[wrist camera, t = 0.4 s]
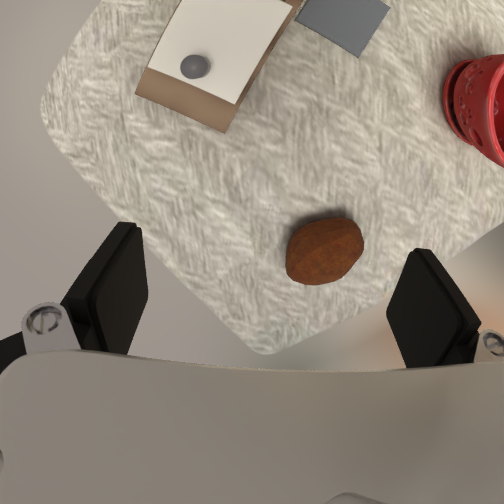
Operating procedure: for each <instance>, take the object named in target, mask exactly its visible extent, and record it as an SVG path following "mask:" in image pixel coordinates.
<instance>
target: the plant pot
mask: <svg viewBox="0 0 504 504" xmlns="http://www.w3.org/2000/svg"><path fill="white" fill-rule="evenodd" d="M443 105H444V110H445V114H446V117H447V120H448V122H449V124H450V126H451V128H452V129H453V131H454V132H455V133H456V134H457V135H458V137H460V138H461V139H462V140H463V141H465V142H466V143H468V144H470V145H473V146H475V147H476V148H477V149H478V150H479V151H480V152H481V153H482V154H483V155H485V156H486V157H487V158H489V159H490V160H491V161H493V162H495V163H496V164H498V165H500V166H501V167H503V168H504V54H499V55H490V56H486V57H482V58H480V59H477V60H476V59H469V60H465V61H462V62H460V63H458V64H457V65H456V66H455V67H454V68H453V69H452V70H451V71H450V73H449V75H448V77H447V79H446V81H445V85H444V90H443Z"/></svg>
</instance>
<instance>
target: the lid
mask: <svg viewBox="0 0 504 504" xmlns="http://www.w3.org/2000/svg"><path fill="white" fill-rule="evenodd" d="M291 9H292V6H291V5H289V4H287V3H285V2H282V1H280V0H182V1H181V3H180V4H179V6H178V8H177V10H176V11H175V13H174V15H173V17H172V19H171V20H170V22H169V24H168V26H167V28H166V30H165V32H164V34H163V36H162V37H161V39H160V41H159V43H158V45H157V47H156V49H155V51H154V54H153V56H152V58H151V60H150V62H149V64H148V66H147V67H149V68H152V69H154V70H157V71H159V72H162V73H164V74H167V75H169V76H172V77H174V78H177V79H179V80H181V81H184V82H186V83H189V84H191V85H193V86H195V87H198V88H200V89H202V90H204V91H207V92H209V93H211V94H213V95H215V96H218V97H220V98H222V99H224V100H226V101H228V102H230V103H232V104H235V103H236V101H237V100H238V98H239V96H240V94H241V92H242V91H243V89H244V87H245V85H246V83H247V82H248V80H249V78H250V76H251V75H252V73H253V71H254V69H255V68H256V66H257V64H258V62H259V61H260V59H261V57H262V56H263V54H264V52H265V51H266V49H267V47H268V46H269V44H270V42H271V41H272V39H273V37H274V36H275V34H276V33H277V31H278V29H279V28H280V26H281V25H282V23H283V21H284V20H285V18H286V17H287V15H288V13H289V12H290V10H291Z"/></svg>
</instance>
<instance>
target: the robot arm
mask: <svg viewBox="0 0 504 504" xmlns="http://www.w3.org/2000/svg"><path fill="white" fill-rule="evenodd" d="M147 300H148V285H147V278H146V268H145V260H144V250H143V238H142V230H141V228H140V227H137V225H136V223H132V222H118V223H117V225H116V226H115V227H114V229H113V230H112V231H111V232H110V234H109V235H108V236H107V238H106V239H105V240H104V242H103V243H102V245H101V246H100V247H99V249H98V250H97V252H96V253H95V254H94V256H93V257H92V258H91V259H90V260H89V262H88V263H87V264H86V266H85V267H84V269H83V270H82V271H81V273H80V274H79V276H78V277H77V279H76V280H75V282H74V283H73V285H72V286H71V288H70V289H69V291H68V292H67V294H66V295H65V297H64V298H63V300H62V301H61V303H60V304H57V303H54V302H46V303H42V304H39V305H36V306H34V307H33V308H31V309H30V310H29V311H28V312H27V313H26V314H25V316H24V317H23V320H22V331H21V332H19V333H17V334H14V335H12V336H10V337H7V338H5V339H3V340H0V504H504V337H503V336H502V335H501V334H500V333H498V332H496V331H494V330H490V329H486V330H483V331H482V332H481V333H480V334H479V333H478V331H477V330H478V328H479V326H480V325H481V321H480V319H479V318H478V316H477V315H476V313H475V312H474V310H473V309H472V307H471V306H470V304H469V303H468V302H467V300H466V298H465V297H464V295H463V294H462V292H461V291H460V289H459V288H458V286H457V285H456V284H455V282H454V281H453V279H452V278H451V277H450V275H449V274H448V273H447V271H446V270H445V268H444V267H443V266H442V264H441V263H440V262H439V260H438V259H437V258H436V256H435V255H434V254H433V252H432V251H431V250H430V249H422V248H415V249H414V250H413V251H411V252H410V253H409V255H408V257H407V260H406V263H405V265H404V268H403V271H402V273H401V276H400V278H399V281H398V283H397V286H396V288H395V291H394V293H393V295H392V298H391V300H390V302H389V305H388V307H387V311H386V316H387V319H388V322H389V324H390V327H391V329H392V332H393V334H394V336H395V339H396V341H397V344H398V347H399V349H400V351H401V354H402V357H403V360H404V362H405V365H406V368H405V369H387V370H349V371H348V370H347V371H315V370H314V371H312V370H310V371H309V370H277V369H258V368H241V367H228V366H216V365H205V364H195V363H186V362H177V361H169V360H160V359H152V358H145V357H138V356H131V355H127V353H128V350H129V348H130V345H131V342H132V340H133V337H134V334H135V331H136V329H137V326H138V324H139V320H140V318H141V316H142V313H143V310H144V308H145V305H146V303H147Z"/></svg>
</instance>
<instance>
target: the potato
mask: <svg viewBox="0 0 504 504" xmlns="http://www.w3.org/2000/svg"><path fill="white" fill-rule="evenodd" d="M363 250H364V241H363V237H362V234H361V230H360V228H359V227H358V226H357V224H356V223H355V222H354V221H352V220H349V219H346V218H343V217H340V218H328V219H323V220H318V221H315V222H312V223H308V224H307V225H305V226H303V227H302V228H300V229H298V230H297V231H296V232H295V233H294V234H293V235H292V237H291V238H290V241H289V243H288V246H287V253H286V264H285V267H286V272H287V275H288V276H289V277H290V278H291V279H292V280H293V281H296V282H299V283H302V284H305V285H321V284H326V283H330V282H334V281H336V280H338V279H340V278H342V277H343V276H344V275H345V274H346V273H347V272H348V271H349V270H350V269H351V267H352V266H353V265H354V263H355V262H356V261H357V260H358V259H359V257H360V256H361V255H362V253H363Z"/></svg>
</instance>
